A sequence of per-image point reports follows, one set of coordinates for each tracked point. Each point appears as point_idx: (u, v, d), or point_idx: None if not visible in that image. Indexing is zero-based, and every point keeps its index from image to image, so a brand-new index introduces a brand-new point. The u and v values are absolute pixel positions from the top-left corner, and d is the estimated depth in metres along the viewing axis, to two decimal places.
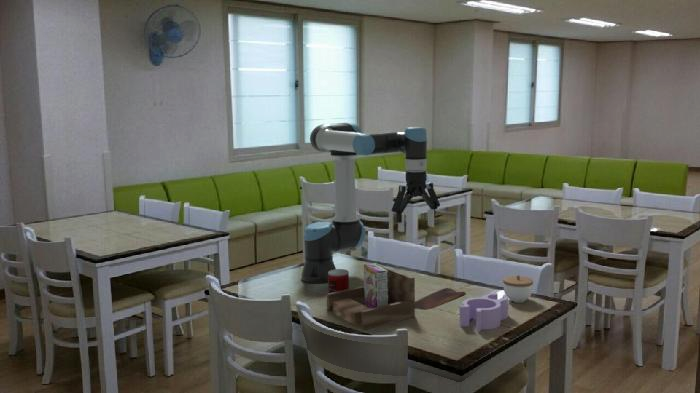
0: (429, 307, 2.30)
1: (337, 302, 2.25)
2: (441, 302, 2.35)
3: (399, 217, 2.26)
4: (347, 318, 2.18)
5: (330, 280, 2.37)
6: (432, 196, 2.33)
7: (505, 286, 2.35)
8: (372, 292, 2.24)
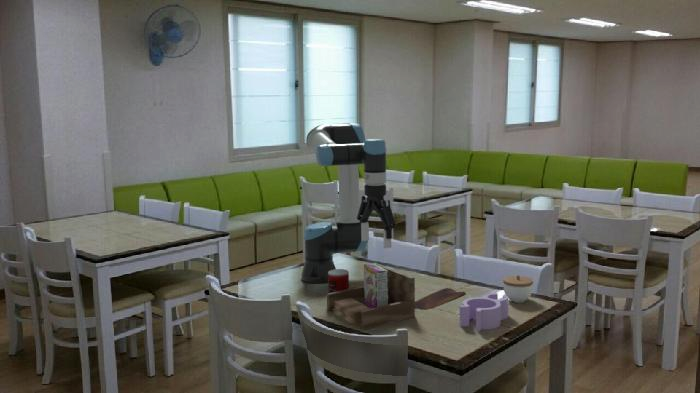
0: (429, 307, 2.30)
1: (338, 301, 2.25)
2: (441, 302, 2.35)
3: None
4: (347, 318, 2.19)
5: (330, 280, 2.37)
6: None
7: (505, 286, 2.35)
8: (372, 292, 2.24)
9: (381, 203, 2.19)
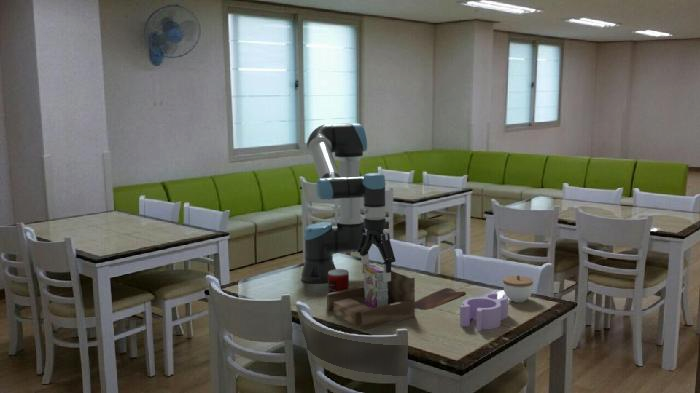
0: (429, 307, 2.30)
1: (338, 302, 2.25)
2: (441, 302, 2.35)
3: None
4: (347, 318, 2.19)
5: (330, 280, 2.37)
6: None
7: (505, 286, 2.35)
8: (372, 292, 2.24)
9: (381, 237, 2.20)
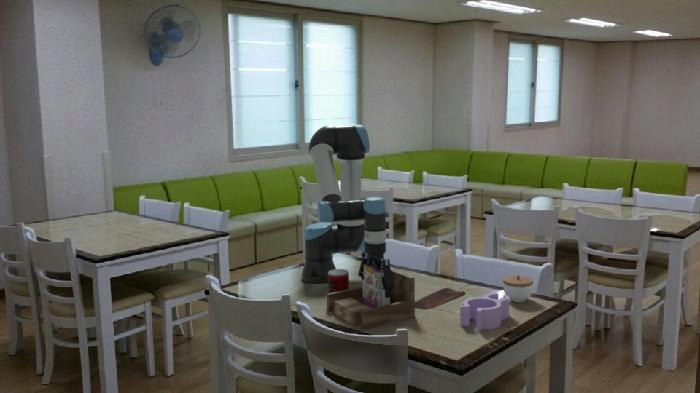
0: (429, 307, 2.30)
1: (338, 301, 2.25)
2: (441, 302, 2.35)
3: (362, 282, 2.32)
4: (347, 317, 2.19)
5: (330, 280, 2.37)
6: None
7: (505, 286, 2.35)
8: (372, 292, 2.24)
9: None
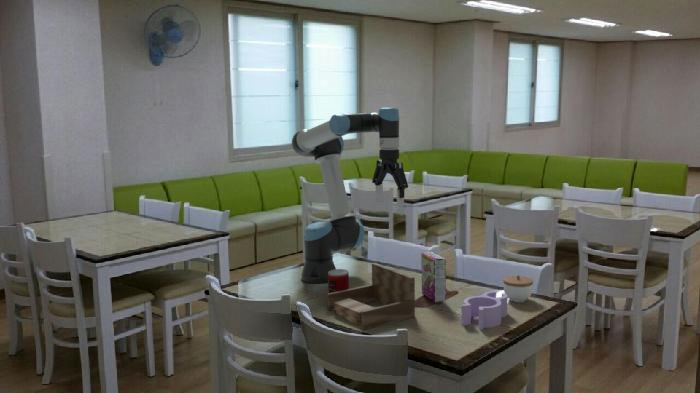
0: (427, 307, 2.31)
1: (338, 302, 2.25)
2: (437, 302, 2.36)
3: (376, 188, 2.50)
4: (349, 317, 2.19)
5: (330, 280, 2.37)
6: None
7: (505, 286, 2.35)
8: (429, 279, 2.35)
9: (395, 166, 2.40)
